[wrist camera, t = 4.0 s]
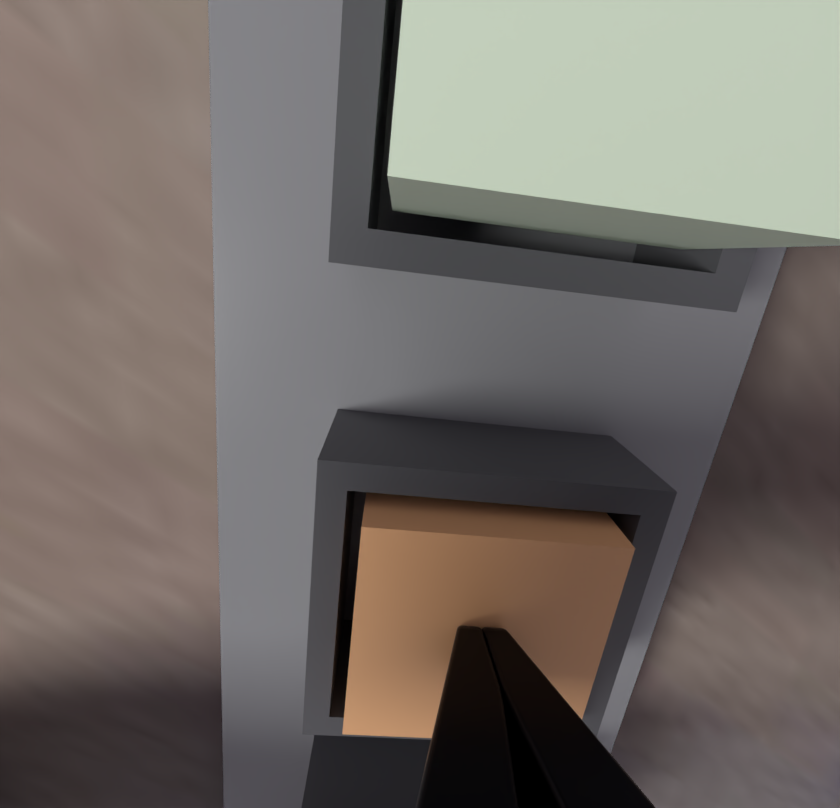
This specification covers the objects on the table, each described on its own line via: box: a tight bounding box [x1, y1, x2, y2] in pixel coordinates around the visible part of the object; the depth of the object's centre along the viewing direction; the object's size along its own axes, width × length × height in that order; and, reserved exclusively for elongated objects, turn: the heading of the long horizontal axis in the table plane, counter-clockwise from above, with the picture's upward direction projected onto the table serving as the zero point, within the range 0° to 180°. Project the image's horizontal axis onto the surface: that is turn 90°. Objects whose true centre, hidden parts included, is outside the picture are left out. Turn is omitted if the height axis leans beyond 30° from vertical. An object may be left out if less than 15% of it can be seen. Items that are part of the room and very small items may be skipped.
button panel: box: [208, 0, 787, 808], centre depth 10 cm, size 26×11×4 cm, turn 173°
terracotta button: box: [342, 492, 635, 738], centre depth 9 cm, size 4×4×3 cm
